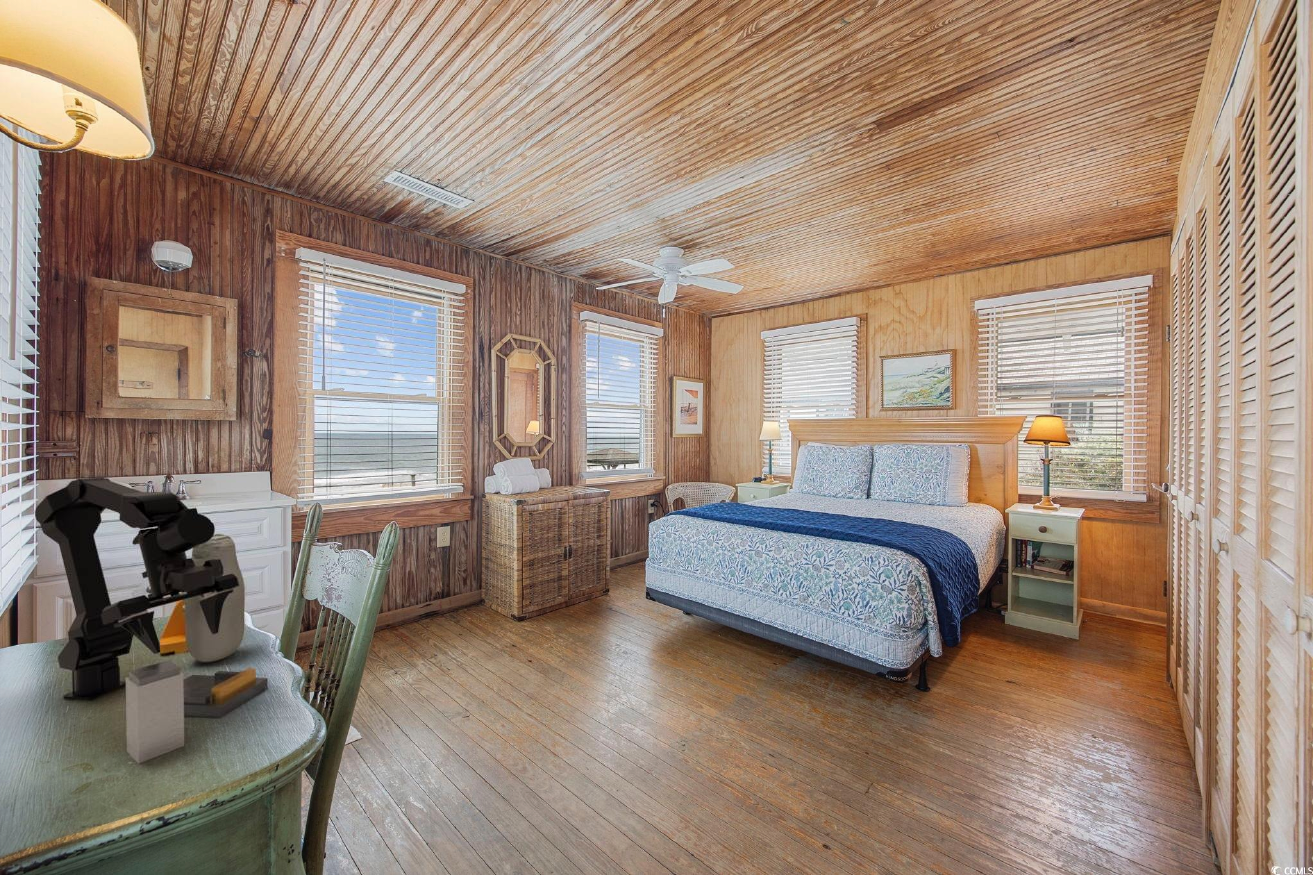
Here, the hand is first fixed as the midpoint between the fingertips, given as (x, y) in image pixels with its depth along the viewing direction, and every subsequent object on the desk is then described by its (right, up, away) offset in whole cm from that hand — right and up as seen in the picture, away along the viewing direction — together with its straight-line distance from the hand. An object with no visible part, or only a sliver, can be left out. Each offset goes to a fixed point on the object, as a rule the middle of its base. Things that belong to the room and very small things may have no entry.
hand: (187, 643), depth 98 cm
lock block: (+3, -14, -10) cm, 17 cm away
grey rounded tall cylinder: (-14, -13, +24) cm, 31 cm away
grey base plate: (-2, -13, +6) cm, 14 cm away
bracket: (-26, -13, +31) cm, 42 cm away
